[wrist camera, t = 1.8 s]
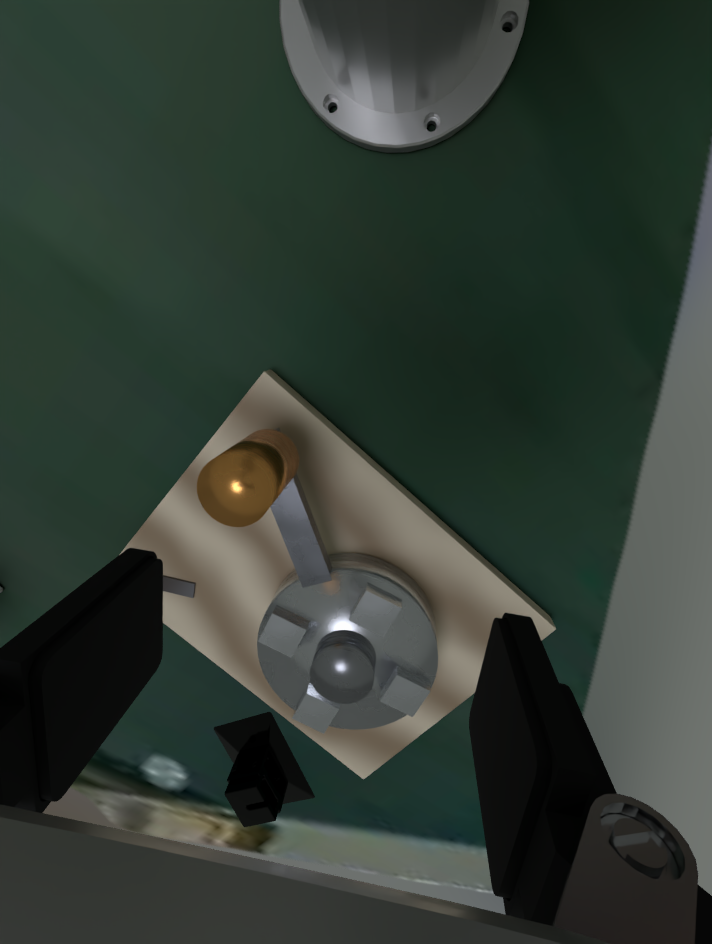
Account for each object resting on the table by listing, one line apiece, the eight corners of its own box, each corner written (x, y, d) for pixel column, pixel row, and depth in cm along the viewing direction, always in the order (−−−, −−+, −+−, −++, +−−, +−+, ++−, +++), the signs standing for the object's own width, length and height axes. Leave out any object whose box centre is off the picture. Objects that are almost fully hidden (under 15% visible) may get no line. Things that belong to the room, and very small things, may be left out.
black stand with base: (331, 802, 42) (321, 857, 38) (258, 817, 44) (242, 871, 40) (273, 691, 40) (256, 736, 35) (197, 711, 41) (172, 757, 37)
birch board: (271, 369, 31) (263, 371, 30) (550, 616, 34) (557, 630, 33) (114, 565, 37) (101, 576, 35) (365, 763, 40) (363, 781, 38)
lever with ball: (455, 680, 35) (469, 793, 26) (303, 710, 37) (271, 822, 29) (360, 392, 29) (339, 417, 21) (189, 448, 32) (109, 491, 23)
